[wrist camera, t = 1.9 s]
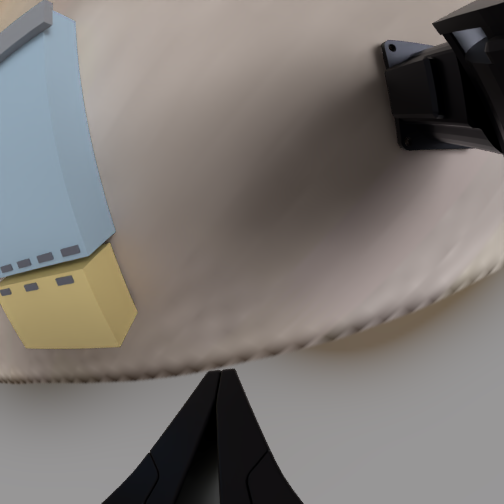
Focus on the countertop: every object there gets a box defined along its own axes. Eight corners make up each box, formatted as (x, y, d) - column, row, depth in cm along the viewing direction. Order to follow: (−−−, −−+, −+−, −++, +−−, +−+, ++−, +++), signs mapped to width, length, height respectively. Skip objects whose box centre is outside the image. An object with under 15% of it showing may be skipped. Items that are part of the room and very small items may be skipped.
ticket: (83, 16, 10) (44, -4, 6) (124, 229, 16) (90, 261, 12) (-25, 94, 11) (-63, 98, 7) (12, 260, 16) (-22, 287, 12)
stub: (109, 242, 16) (81, 270, 12) (137, 312, 18) (119, 348, 14) (20, 265, 16) (-8, 289, 13) (47, 321, 18) (25, 349, 15)
